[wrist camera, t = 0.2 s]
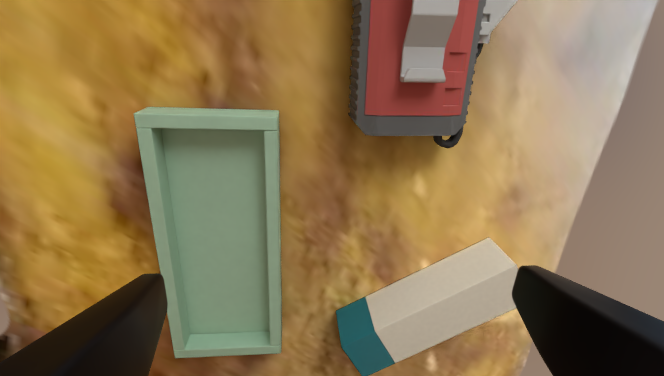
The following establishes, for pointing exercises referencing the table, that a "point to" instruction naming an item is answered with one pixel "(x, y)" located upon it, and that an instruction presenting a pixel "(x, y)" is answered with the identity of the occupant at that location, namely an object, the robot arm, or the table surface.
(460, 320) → the beige and teal block
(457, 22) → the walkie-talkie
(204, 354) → the pen tray
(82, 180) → the table surface
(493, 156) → the table surface
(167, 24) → the table surface
